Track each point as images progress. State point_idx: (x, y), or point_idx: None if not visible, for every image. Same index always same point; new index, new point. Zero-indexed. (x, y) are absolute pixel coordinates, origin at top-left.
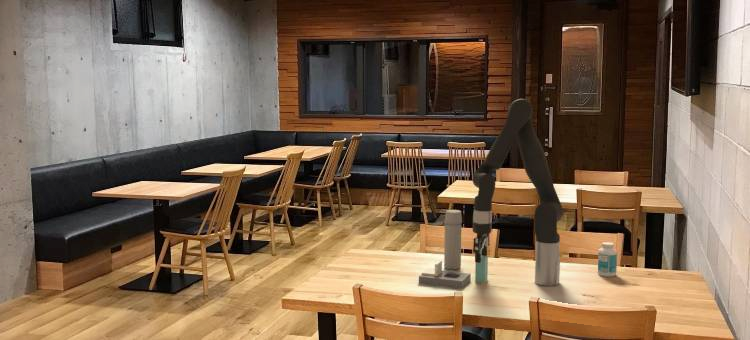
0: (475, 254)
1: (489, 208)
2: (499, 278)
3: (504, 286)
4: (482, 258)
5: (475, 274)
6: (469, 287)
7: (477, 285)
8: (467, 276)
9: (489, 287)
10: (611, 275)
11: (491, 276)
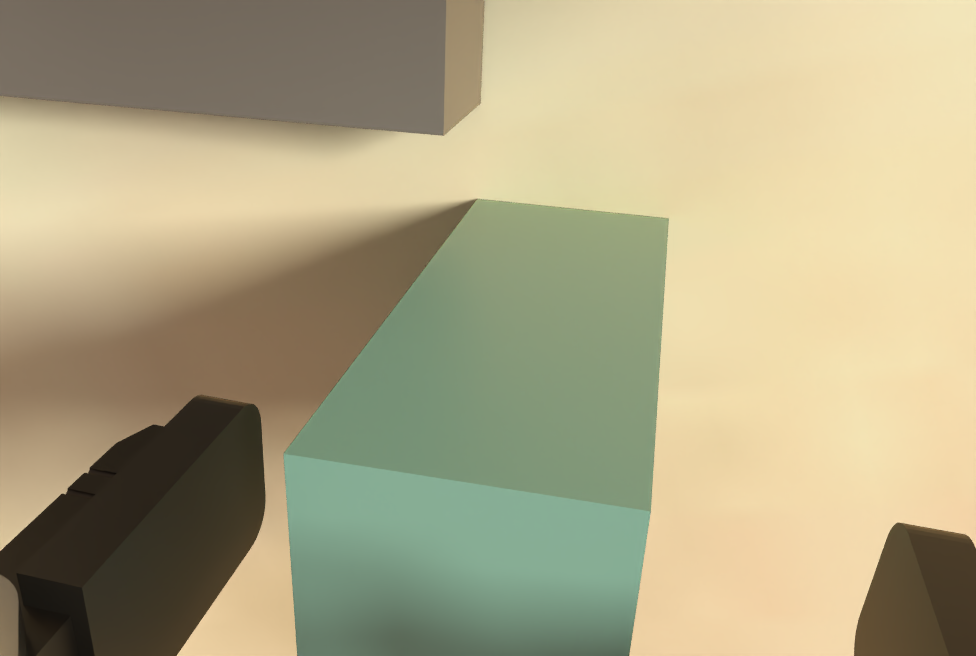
0: (47, 550)
1: None
2: (802, 561)
3: None
4: (301, 636)
5: (442, 246)
6: (91, 168)
7: (256, 275)
8: (206, 112)
9: None
10: None
11: (916, 434)
